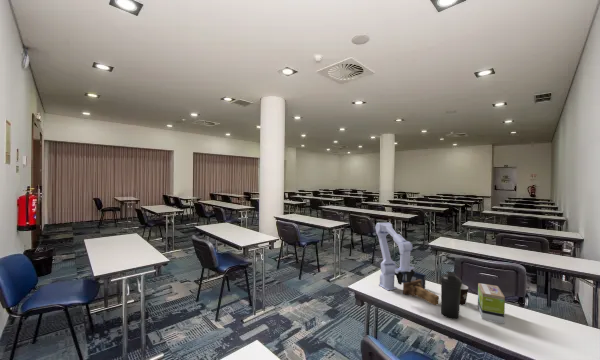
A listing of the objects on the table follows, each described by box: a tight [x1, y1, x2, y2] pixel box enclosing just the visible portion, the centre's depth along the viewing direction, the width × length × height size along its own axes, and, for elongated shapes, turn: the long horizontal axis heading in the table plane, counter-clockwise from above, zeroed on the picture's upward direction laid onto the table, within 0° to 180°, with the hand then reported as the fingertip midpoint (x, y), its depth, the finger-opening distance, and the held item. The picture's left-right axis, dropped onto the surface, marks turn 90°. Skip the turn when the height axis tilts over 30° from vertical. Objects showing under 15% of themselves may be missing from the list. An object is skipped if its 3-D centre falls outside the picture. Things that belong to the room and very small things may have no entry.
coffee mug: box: [460, 283, 469, 306], centre depth 159 cm, size 12×9×10 cm
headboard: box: [402, 279, 423, 297], centre depth 169 cm, size 5×15×7 cm, turn 115°
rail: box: [413, 285, 440, 306], centre depth 162 cm, size 16×3×5 cm, turn 25°
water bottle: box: [440, 271, 463, 320], centre depth 144 cm, size 10×10×23 cm
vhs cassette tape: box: [401, 270, 427, 290], centre depth 182 cm, size 18×3×10 cm, turn 43°
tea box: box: [477, 282, 506, 324], centre depth 145 cm, size 15×10×15 cm, turn 154°
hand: (404, 283), depth 161 cm, fingers open, 7 cm apart
